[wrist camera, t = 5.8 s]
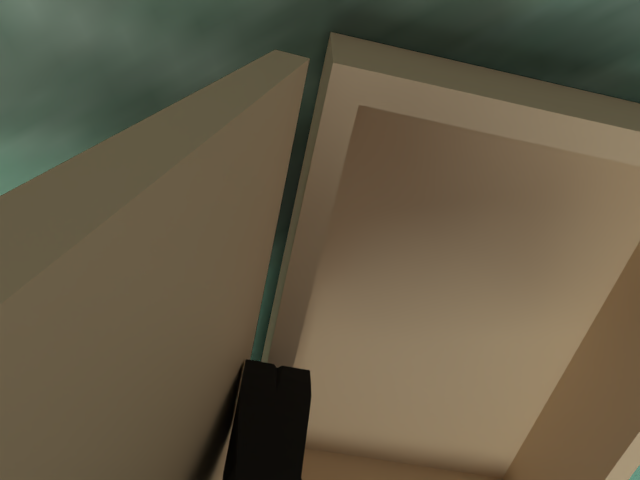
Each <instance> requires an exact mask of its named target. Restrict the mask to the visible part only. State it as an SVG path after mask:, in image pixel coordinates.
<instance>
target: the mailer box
mask: <svg viewBox="0 0 640 480" xmlns="http://www.w3.org/2000/svg"><path fill="white" fill-rule="evenodd" d="M261 362H265V363H271V364H274V365H275V366H276V367H277V368H278V367H280V366H288V367H294V368H300V369H306V370H310V377H311V395H312V397H311V405H310V413H309V421H308V429H307V436H306V444H305V452H304V459H303V467H302V475H301V479H302V480H628V479H629V478H630V477H631V475H632V474H633V473H634V471H635V470H636V469H637V467H638V466H639V465H640V103H636V102H632V101H627V100H623V99H619V98H614V97H610V96H606V95H601V94H597V93H593V92H588V91H584V90H580V89H575V88H571V87H567V86H562V85H558V84H554V83H549V82H545V81H541V80H536V79H532V78H528V77H524V76H519V75H515V74H511V73H506V72H502V71H498V70H493V69H489V68H485V67H480V66H476V65H472V64H467V63H463V62H459V61H454V60H450V59H446V58H441V57H437V56H433V55H428V54H424V53H420V52H416V51H411V50H407V49H403V48H398V47H394V46H390V45H385V44H381V43H377V42H372V41H368V40H364V39H359V38H355V37H351V36H346V35H342V34H338V33H333V32H330V37H329V42H328V46H327V51H326V56H325V60H324V65H323V70H322V75H321V79H320V84H319V89H318V94H317V98H316V103H315V108H314V113H313V117H312V122H311V127H310V132H309V136H308V141H307V146H306V151H305V155H304V160H303V165H302V169H301V174H300V179H299V184H298V188H297V193H296V198H295V203H294V207H293V212H292V217H291V222H290V226H289V231H288V236H287V241H286V245H285V250H284V255H283V260H282V264H281V269H280V274H279V279H278V283H277V288H276V293H275V297H274V302H273V307H272V312H271V316H270V321H269V326H268V331H267V335H266V340H265V345H264V350H263V354H262V359H261Z"/></svg>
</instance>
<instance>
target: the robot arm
mask: <svg viewBox="0 0 640 480" xmlns="http://www.w3.org/2000/svg"><path fill="white" fill-rule="evenodd" d="M311 397H312V395H311V377H310V370H306V369H300V368H294V367H288V366H280V367H278V368H277V367H276V366H275V365H274V364H271V363H265V362H259V361H254V360H248V359H246V360H245V365H244V370H243V375H242V380H241V385H240V390H239V395H238V400H237V405H236V410H235V415H234V420H233V426H232V431H231V436H230V441H229V446H228V451H227V456H226V461H225V466H224V471H223V479H222V480H302V479H301V475H302V467H303V459H304V452H305V444H306V436H307V429H308V421H309V413H310V405H311Z"/></svg>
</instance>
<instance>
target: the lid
mask: <svg viewBox="0 0 640 480" xmlns="http://www.w3.org/2000/svg"><path fill="white" fill-rule="evenodd" d="M309 60H310V58H306V57H303V56H299V55H295V54H291V53H287V52H283V51H279V50H273V51H272V52H270V53H268V54H266V55H264V56H262V57H260V58H258V59H257V60H255V61H253V62H251V63H249V64H247V65H245V66H243V67H242V68H240V69H238V70H236V71H234V72H232V73H230V74H228V75H227V76H225V77H223V78H221V79H219V80H217V81H215V82H213V83H212V84H210V85H208V86H206V87H204V88H202V89H200V90H198V91H197V92H195V93H193V94H191V95H189V96H187V97H185V98H183V99H182V100H180V101H178V102H176V103H174V104H172V105H170V106H168V107H167V108H165V109H163V110H161V111H159V112H157V113H155V114H153V115H151V116H150V117H148V118H146V119H144V120H142V121H140V122H138V123H136V124H135V125H133V126H131V127H129V128H127V129H125V130H123V131H121V132H120V133H118V134H116V135H114V136H112V137H110V138H108V139H106V140H105V141H103V142H101V143H99V144H97V145H95V146H93V147H91V148H90V149H88V150H86V151H84V152H82V153H80V154H78V155H76V156H75V157H73V158H71V159H69V160H67V161H65V162H63V163H61V164H60V165H58V166H56V167H54V168H52V169H50V170H48V171H46V172H45V173H43V174H41V175H39V176H37V177H35V178H33V179H31V180H30V181H28V182H26V183H24V184H22V185H20V186H18V187H16V188H14V189H13V190H11V191H9V192H7V193H5V194H3V195H1V196H0V480H222V479H223V471H224V466H225V461H226V456H227V451H228V446H229V441H230V436H231V431H232V426H233V420H234V415H235V410H236V405H237V400H238V395H239V390H240V385H241V380H242V375H243V370H244V365H245V360H246V359H248V360H250V358H251V353H252V348H253V343H254V338H255V333H256V328H257V323H258V318H259V313H260V308H261V303H262V298H263V292H264V287H265V282H266V277H267V272H268V267H269V262H270V257H271V252H272V247H273V242H274V237H275V232H276V227H277V222H278V217H279V212H280V206H281V201H282V196H283V191H284V186H285V181H286V176H287V171H288V166H289V161H290V156H291V151H292V146H293V141H294V136H295V131H296V126H297V121H298V115H299V110H300V105H301V100H302V95H303V90H304V85H305V80H306V75H307V70H308V65H309Z"/></svg>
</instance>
